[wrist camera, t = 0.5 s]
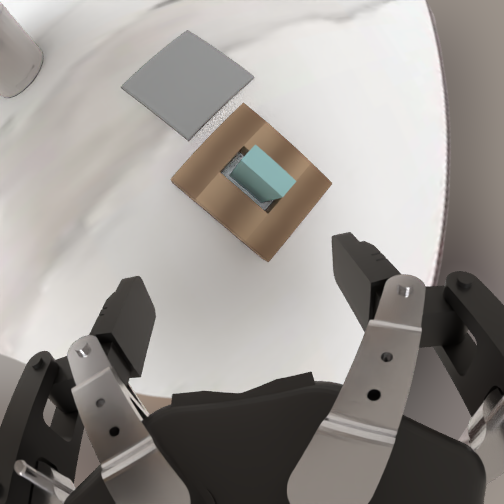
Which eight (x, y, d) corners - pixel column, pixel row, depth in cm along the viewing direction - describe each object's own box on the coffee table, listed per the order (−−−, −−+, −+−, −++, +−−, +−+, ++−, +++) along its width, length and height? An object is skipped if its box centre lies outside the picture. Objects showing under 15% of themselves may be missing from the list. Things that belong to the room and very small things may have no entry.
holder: (172, 182, 32) (170, 179, 29) (239, 111, 33) (243, 102, 30) (262, 258, 35) (268, 262, 32) (322, 186, 36) (332, 183, 33)
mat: (122, 88, 29) (120, 86, 29) (187, 32, 30) (187, 29, 29) (188, 140, 32) (188, 139, 31) (253, 78, 32) (254, 76, 32)
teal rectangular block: (229, 175, 33) (240, 160, 24) (240, 163, 33) (255, 144, 25) (261, 202, 34) (282, 197, 26) (271, 190, 34) (296, 181, 26)
